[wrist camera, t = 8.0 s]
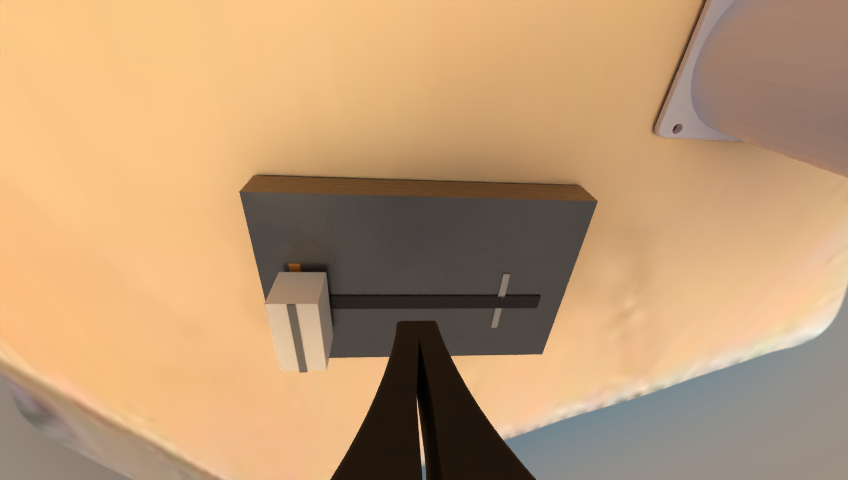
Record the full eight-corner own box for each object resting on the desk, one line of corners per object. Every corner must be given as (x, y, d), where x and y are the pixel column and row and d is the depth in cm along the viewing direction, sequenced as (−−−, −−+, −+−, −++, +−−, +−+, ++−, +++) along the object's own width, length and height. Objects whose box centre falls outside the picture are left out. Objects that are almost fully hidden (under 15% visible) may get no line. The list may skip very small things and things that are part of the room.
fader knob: (326, 272, 19) (317, 305, 17) (332, 336, 22) (326, 371, 20) (278, 271, 19) (263, 305, 17) (291, 336, 22) (279, 372, 19)
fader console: (580, 185, 20) (598, 202, 18) (532, 332, 26) (542, 355, 25) (253, 175, 18) (238, 192, 17) (286, 335, 25) (278, 359, 23)
